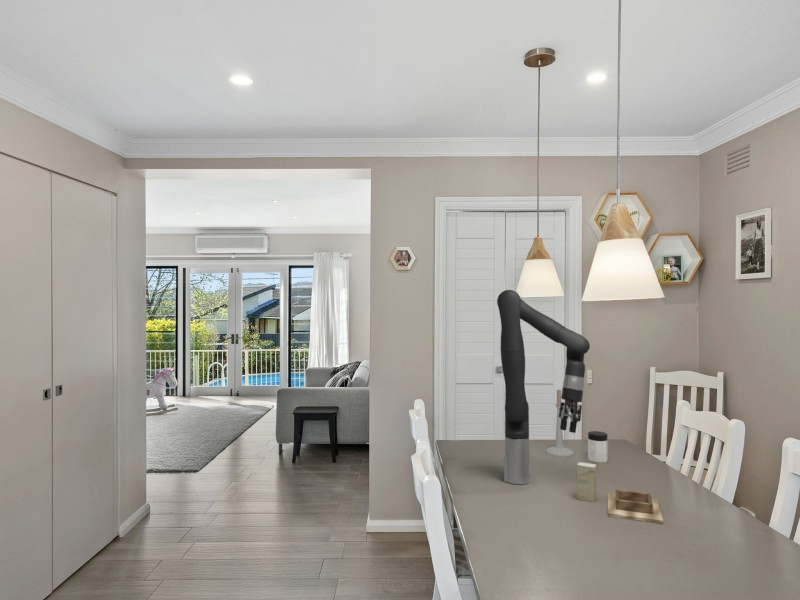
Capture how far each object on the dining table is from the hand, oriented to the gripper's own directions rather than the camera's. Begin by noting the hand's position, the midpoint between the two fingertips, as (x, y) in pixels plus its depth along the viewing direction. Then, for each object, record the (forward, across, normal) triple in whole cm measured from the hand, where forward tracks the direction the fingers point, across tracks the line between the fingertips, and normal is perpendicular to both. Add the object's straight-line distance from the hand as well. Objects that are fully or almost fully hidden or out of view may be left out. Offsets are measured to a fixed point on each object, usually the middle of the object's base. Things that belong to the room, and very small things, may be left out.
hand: (567, 431), depth 191 cm
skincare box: (+22, +8, +7) cm, 24 cm away
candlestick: (+12, -50, +19) cm, 55 cm away
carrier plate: (+21, +18, +18) cm, 33 cm away
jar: (+12, -37, +32) cm, 50 cm away
